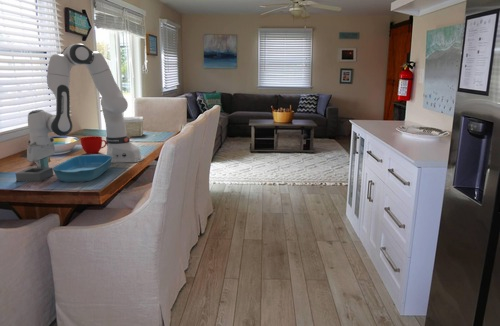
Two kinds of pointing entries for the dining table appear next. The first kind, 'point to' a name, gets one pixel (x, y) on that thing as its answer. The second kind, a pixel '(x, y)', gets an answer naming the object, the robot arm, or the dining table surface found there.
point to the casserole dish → (82, 168)
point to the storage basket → (134, 126)
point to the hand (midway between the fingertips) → (42, 166)
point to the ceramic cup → (92, 144)
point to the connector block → (44, 163)
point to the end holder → (34, 174)
